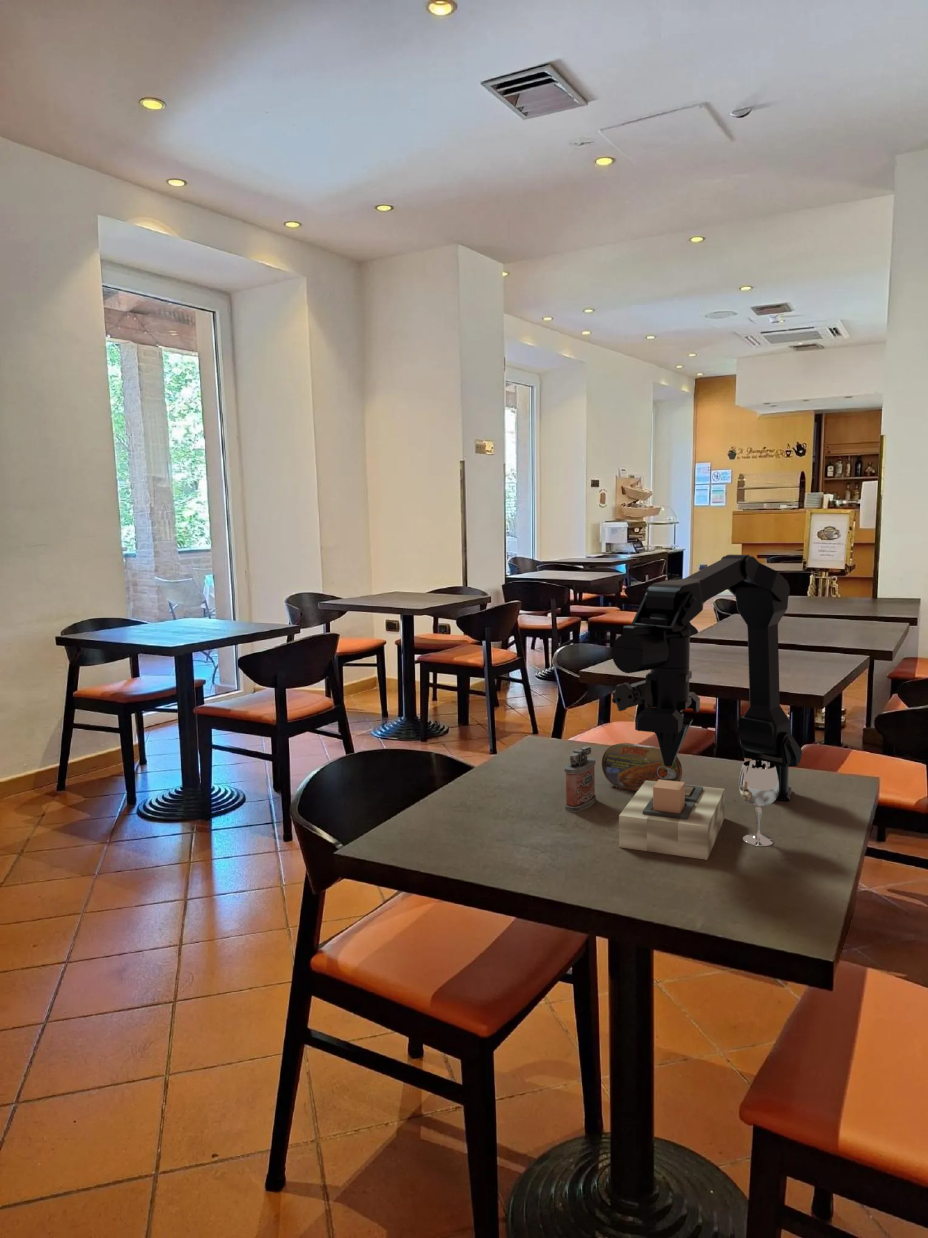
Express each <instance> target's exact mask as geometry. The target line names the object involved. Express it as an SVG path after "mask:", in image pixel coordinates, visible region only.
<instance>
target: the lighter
mask: <svg viewBox="0 0 928 1238" xmlns="http://www.w3.org/2000/svg"><path fill="white" fill-rule="evenodd" d="M591 754H592V747H591V746H590V745H585V746H582V747H581V748H579V749H577V748H574V749H573V752H572V753H570V754H569V761H570V762H569V763H568V764H566V765H565V766H564V773H565V803H564V809H565V811H566V812H571V813H577V812H580V811H583V810H586V809H587V808H589V807H591V806H592V805H593V804H595V803H596V801H597V795H596V793H595V788H596V787H595V778H596V777H595V776H596V775H595V766H596V758H594V757H588V756H589V755H591Z"/></svg>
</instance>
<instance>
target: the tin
mask: <svg viewBox="0 0 928 1238" xmlns="http://www.w3.org/2000/svg"><path fill="white" fill-rule="evenodd" d="M601 768H602V769H601V770H602V772H603V775H604V777H605V778H606V779H607V781H608V782H609V783H610V784H611V785H613V786H614V787H616V788H617V789H618V788H619V789H623V790H627V791H628V790H629V791H635V792H637V791H638V790H639V789H640V787H641V786H642V785H643V783H644V782H645V781H646V780H647V781H656V782H657V781H658V780H668V781H678V782H681V780H682V776H683V767H682V764H681V761H680V759H679V757H678V755H677V756H676V758H675V761H674V763H673V765H672V766H671V767H669V766H665V765H664V762H663V758H662V754H661V750H660V746H652V745H646V744H645V745H644V744H637V743H631V742H630V743H629V742H620V743H616V744H612V745H611V746H609V747H608V748H607V749H606V750H605V751H604V752H603V755H602V758H601Z"/></svg>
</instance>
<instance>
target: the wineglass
mask: <svg viewBox="0 0 928 1238" xmlns="http://www.w3.org/2000/svg"><path fill="white" fill-rule="evenodd" d="M738 790H739V795H740V797H741V798H742V799H743V800H744V801H745V802H747V803H748V804H750V805H752V806H755V809H754V814H755V819H756V831H755V833H754V834H747V835H744V836H743V837H742V841H743V842H744V843H746V844H748V845H751V846H755V847H756V846H757V847H769V846H772V845H773V844H774V839H772V838H771V837H769V836H767V835H764V834H762V833H761V826H760V825H761V823H760V822H761V817H762V814H763V811H762V808H761V807H764V806H768V805H771V804H772V803H774V802H775V801H776V798H777V796H778V792H779V780H778V775H777V771H776V767H775V764H773V763H771V762H767V761H761V760H753V759H749V760H745V761H743V762H742V765H741V768H740V772H739V777H738Z"/></svg>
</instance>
